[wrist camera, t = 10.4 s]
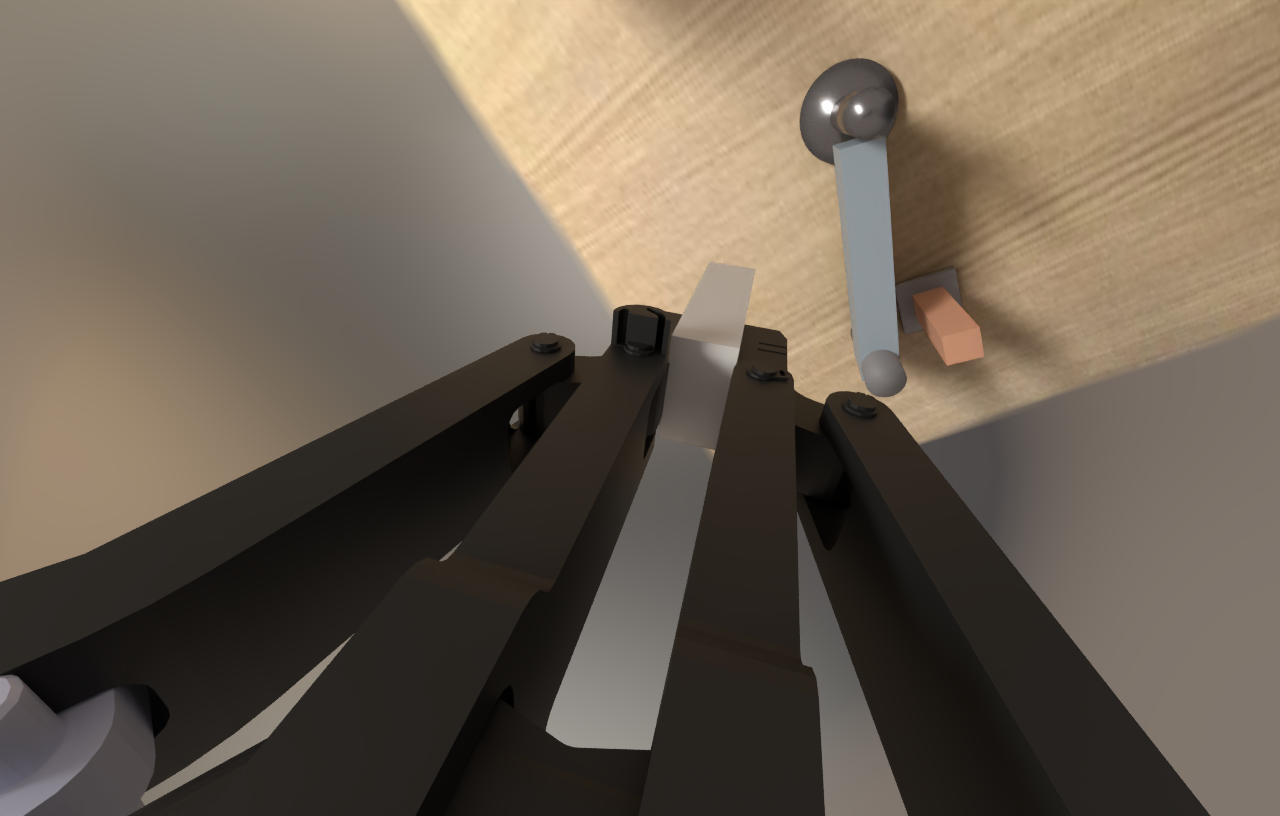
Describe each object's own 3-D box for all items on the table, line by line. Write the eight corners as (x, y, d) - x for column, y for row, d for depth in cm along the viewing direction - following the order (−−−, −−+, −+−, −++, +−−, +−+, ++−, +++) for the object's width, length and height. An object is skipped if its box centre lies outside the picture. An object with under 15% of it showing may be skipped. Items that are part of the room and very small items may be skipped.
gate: (830, 144, 34) (843, 152, 27) (868, 132, 33) (893, 138, 26) (852, 346, 41) (867, 399, 33) (884, 341, 40) (907, 394, 32)
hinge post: (885, 39, 31) (928, 7, 22) (904, 140, 33) (950, 149, 24) (789, 87, 33) (790, 77, 24) (812, 178, 36) (822, 200, 26)
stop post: (953, 266, 36) (997, 306, 29) (961, 316, 38) (1005, 366, 30) (893, 285, 38) (920, 327, 30) (903, 332, 39) (931, 383, 32)
